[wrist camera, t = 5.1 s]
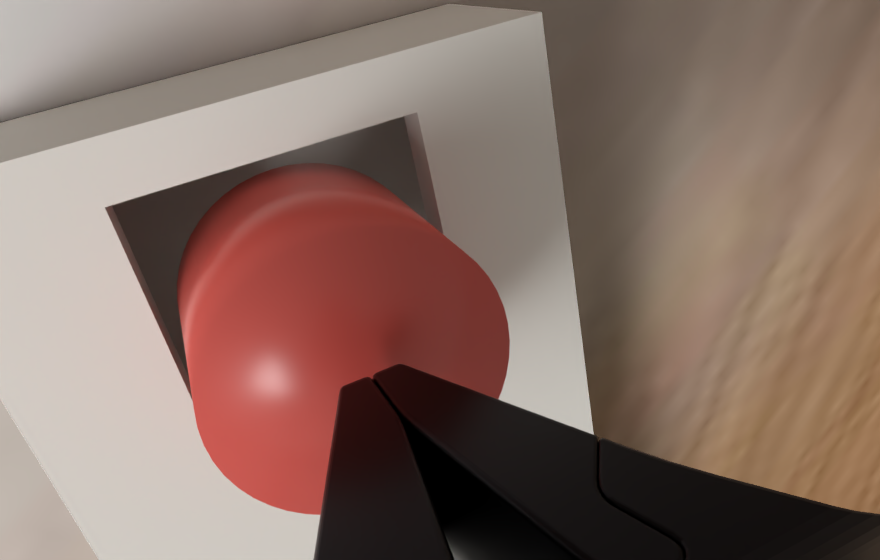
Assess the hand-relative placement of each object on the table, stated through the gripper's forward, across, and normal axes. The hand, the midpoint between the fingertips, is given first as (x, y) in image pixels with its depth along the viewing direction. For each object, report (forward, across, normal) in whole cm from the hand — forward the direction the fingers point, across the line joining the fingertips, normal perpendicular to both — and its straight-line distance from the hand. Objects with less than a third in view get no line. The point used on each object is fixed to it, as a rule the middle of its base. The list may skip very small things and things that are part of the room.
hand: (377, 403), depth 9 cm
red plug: (+4, 0, 0) cm, 4 cm away
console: (+8, 0, +5) cm, 9 cm away
